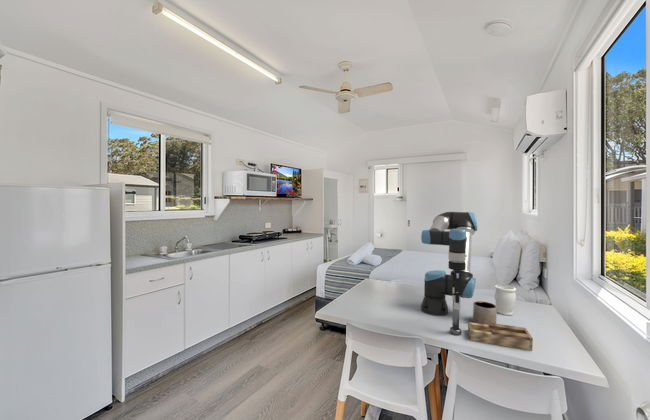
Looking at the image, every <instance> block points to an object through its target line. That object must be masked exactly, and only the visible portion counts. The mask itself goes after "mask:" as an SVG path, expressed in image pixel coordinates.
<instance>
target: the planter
mask: <svg viewBox="0 0 650 420" xmlns="http://www.w3.org/2000/svg"><path fill="white" fill-rule="evenodd" d="M496 310H497V307H496V304H495V303H494V304H493V303H491V302H487V301H479V300H478V301H477V300H476V301H474V302H473V310H472V313H473V314H472V320H473V322H474V323H479V324H486V325H489V323H496V324H497V311H496Z"/></svg>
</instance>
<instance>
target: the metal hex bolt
mask: <svg viewBox="0 0 650 420" xmlns="http://www.w3.org/2000/svg"><path fill="white" fill-rule="evenodd" d="M451 324H452V326H451V327H450V329H449V334H451V335H452V336H456V337H458V336H461V335H462V329H461V328H460V310H457V309H454V300H452V323H451Z"/></svg>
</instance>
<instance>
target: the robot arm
mask: <svg viewBox="0 0 650 420" xmlns="http://www.w3.org/2000/svg"><path fill="white" fill-rule="evenodd" d="M477 223H478V221H477V215H476V213H475V212H471V211H465V212H464V211H445V212H443V213H442V212H441V213H440V214H438V215H437V216H435V217H434V218H433V221H432V225H431V226H430V227H429V229H424V230H422V231H421V236H420V237H421V238H420V239H421V244H424V245H432V246H433V245H435V246H448V258H447V259H448V264H447V265H448V269H450V270H451V271H450V274H447V272H446V271H445V270H439V269H438V270H437V269H436V270H431V271H430V270H429V271H426V272H425V274H424V285H423V286H424V291H423V292H424V294H423V295H424V296H423V299H422V302H421V304H420V309H421V311H422V312H423V313H425V314H428V315H432V316H446V315H448V314H449V305H448V303H447V299H446V296H450V297H452V299H451V300H452V301H453V300H454V309H457V310H459V311H460V310H461V298H462V299H472V298H473V296H474V292H475V289H476V278H475V277H474V275H473V272H471V259H472V254H471V253H472V236H474V234H475V232H478V224H477Z"/></svg>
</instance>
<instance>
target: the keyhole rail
mask: <svg viewBox="0 0 650 420" xmlns="http://www.w3.org/2000/svg"><path fill="white" fill-rule="evenodd" d="M467 324H468V325H467V331H468V335H469V339H470V341H472V342H473V341H474V342H479V343H485V344H492V345H498V346H503V347H510V348H517V349H520V350H521V349H522V350H527V351H533V346H534V344H533V343H534V342H533V336H532V335H531V334H530V332H529V330H528V329H527V327H524V326H523V327H522V326H515V325H510V324H509V325H508V324H503V323H502V324H501V323H497V322H496V323H489V325H486V324H479V323H476V322H471V321H468V322H467Z"/></svg>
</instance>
